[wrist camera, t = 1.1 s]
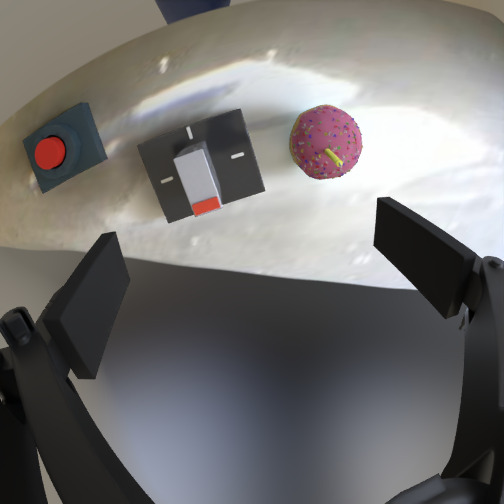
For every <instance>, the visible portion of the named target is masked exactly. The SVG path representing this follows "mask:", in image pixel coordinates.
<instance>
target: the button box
mask: <svg viewBox="0 0 504 504" xmlns="http://www.w3.org/2000/svg"><path fill="white" fill-rule="evenodd" d="M51 137H57V138H59V139H60V140H61V141H62V142H63V143H64V146H65V156H64V159H63V161H62V162H61V163H60V164H59V165H57V166H55V167H53V168H51V169H47V170H46V169H42V168H41V167H39V166H38V164H37V162H36V160H35V150H36V147H37V145H38V144H39V142H41V141H42V140H44V139H47V138H51ZM23 143H24V146H25V149H26V152H27V155H28V158H29V160H30V163H31V166H32V168H33V171H34V174H35V176H36V179H37V181H38V184H39V186H40V188H41V191H42V193H43V194H44V193H45V192H47V191H49V190H50V189H52V188H54V187H56V186H57V185H59V184H61V183H63V182H64V181H66V180H68V179H70V178H72V177H73V176H75V175H77V174H79V173H81V172H83V171H85V170H87V169H89V168H90V167H92V166H94V165H96V164H98V163H100V162H102V161H104V160H106V159H108V158H107V155H106V153H105V150H104V148H103V145H102V142H101V139H100V137H99V134H98V131H97V128H96V125H95V123H94V120H93V117H92V114H91V111H90V108H89V105H88V103H80V104H78V105H76V106H74V107H73V108H71V109H69V110H68V111H66V112H64V113H63V114H61V115H60V116H58V117H56V118H55V119H53V120H52V121H50V122H49V123H47V124H46V125H44V126H43V127H41V128H40V129H38V130H37V131H36V132H34V133H33V134H31V135H30V136H29V137H27V138H26V139H24V140H23Z"/></svg>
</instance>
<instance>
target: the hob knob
mask: <svg viewBox="0 0 504 504" xmlns="http://www.w3.org/2000/svg"><path fill="white" fill-rule="evenodd" d="M174 163H175V166H176V169H177V171H178V174H179V177H180V179H181V182H182V185H183V187H184V190H185V192H186V195H187V198H188V200H189V203H190V205H191V208H192V211H193V213H194V216H195V217H197V216H200V215H203V214H206V213H209V212H212V211H215V210H218V209H221V208H223V206H222V197H221V187H220V183H219V180H218V177H217V174H216V171H215V169H214V166H213V163H212V160H211V157H210V154H209V151H208V148H207V145H206V142H205V141H202V142H199V143H197V144H194V145H191V146H188V147H185V148H183V149H182V150H181V151H180V153H179V154H178V155H177V156H176V157H175V158H174Z"/></svg>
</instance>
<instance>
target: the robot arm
mask: <svg viewBox="0 0 504 504" xmlns="http://www.w3.org/2000/svg"><path fill="white" fill-rule="evenodd" d="M373 246H374V247H375V248H376V249H377V250H379V251H380V252H381V253H382V254H383V255H384V256H385V257H386V258H387V259H388V260H389V261H390V262H391V263H392V264H393V265H394V266H395V267H396V268H397V269H398V270H399V271H400V272H401V273H402V274H403V275H404V276H405V277H406V278H407V279H408V280H409V281H410V282H411V283H412V284H413V285H414V286H415V287H416V288H417V289H418V290H419V291H420V292H421V294H423V296H424V297H425V298H426V299H427V300H428V301H429V302H430V303H431V304H432V305H433V306H434V307H435V308H436V310H438V312H439V313H440V314H441V315H442V316H443V317H444V318H445V319H447V318H450V317H452V316H455V315H458V313H459V310H460V307H461V305H462V302H463V303H464V304H465V305H467V309H466V312H465V314H464V317H463V319H462V322H461V325H460V327H459V329H460V330H461V328H462V326H464V325H465V357H464V375H463V386H462V396H461V405H460V412H459V419H458V425H457V431H456V436H455V441H454V446H453V451H452V454H451V458H450V460H449V462H448V463H447V465H446V467H445V468H444V470H443V472H442V474H441V476H440V475H439V473H438V474H436V475H434V476H433V477H431V478H429V479H427V480H425V481H423V482H421V483H419V484H417V485H415V486H413V487H411V488H409V489H407V490H404V491H403V492H400V493H399V494H398V495H396V496H395V497H393V498H392V499H391V500H389V501H388V502H386V503H385V504H504V261H502V260H501V259H499V258H497V257H492V256H486V257H484V258H483V259H482V258H481V257H479V256H478V255H477V254H476V253H475V252H473V251H472V250H471V249H469V248H468V247H466V246H465V245H464V244H462V243H461V242H459V241H458V240H456V239H455V238H454V237H452V236H451V235H449V234H448V233H446V232H445V231H443V230H442V229H440V228H439V227H437V226H436V225H434V224H433V223H431V222H430V221H428V220H427V219H425V218H423V217H422V216H420V215H419V214H417V213H415V212H414V211H412V210H411V209H409V208H407V207H406V206H404V205H402V204H401V203H399V202H397V201H396V200H394V199H392V198H390V197H380V198H377V210H376V223H375V235H374V245H373ZM129 282H130V277H129V275H128V271H127V268H126V265H125V262H124V259H123V255H122V252H121V249H120V245H119V242H118V238H117V235H116V231H115V232H109V233H104V234H101V236H100V237H99V238H98V240H97V241H96V242H95V243H94V245H93V246H92V247H91V249H90V250H89V251H88V253H87V254H86V255H85V257H84V258H83V259H82V261H81V262H80V264H79V265H78V266H77V268H76V269H75V271H74V272H73V273H72V275H71V276H70V278H69V279H68V280H67V282H66V283H65V285H64V286H62V287H61V288H60V289H59V290H58V291H57V292H56V293H55V294H54V295H53V296H52V298H51V300H50V301H49V302H50V303H48V304H47V306H46V307H45V308H46V309H44V310H43V312H42V313H41V315H40V317H39V318H38V320H37V321H36V323H34V321H33V320H32V318H31V316H30V314H29V313H28V310H27V309H26V308H25V307H16V308H14V309H12V310H10V311H9V312H7V313H6V314H5V315H4V316H3V317H2V318H1V319H0V332H1V334H2V336H3V337H4V339H5V340H6V342H7V344H8V345H9V347H6V348H2V349H0V397H1V398H2V401H1V399H0V504H48V501H47V498H46V494H45V490H44V485H43V481H42V476H41V471H40V466H39V460H38V454H37V449H38V452H39V454H40V457H41V459H42V461H43V464H44V466H45V468H46V471H47V473H48V475H49V477H50V479H51V481H52V483H53V485H54V487H55V489H56V491H57V493H58V495H59V497H60V499H61V501H62V503H63V504H155V503H154V502H153V501H152V500H151V498H150V497H149V496H148V495H147V494H146V493H145V491H143V489H142V488H141V487H140V486H139V484H138V483H137V482H136V481H135V479H134V478H133V477H132V476H131V474H130V473H129V472H128V471H127V469H126V468H125V467H124V465H123V464H122V463H121V461H120V460H119V458H118V457H117V456H116V454H115V453H114V452H113V450H112V449H111V447H110V446H109V444H108V443H107V441H106V440H105V438H104V437H103V435H102V434H101V432H100V431H99V429H98V428H97V426H96V424H95V423H94V421H93V419H92V418H91V416H90V415H89V413H88V411H87V409H86V407H85V406H84V404H83V402H82V400H81V398H80V397H79V395H78V393H77V391H76V389H75V387H74V385H73V383H72V382H71V380H70V379H69V377H68V373H69V371H70V368H71V369H72V371H73V372H74V374H75V375H76V377H77V378H78V379H95V378H96V375H97V371H98V368H99V365H100V362H101V359H102V356H103V353H104V350H105V347H106V344H107V341H108V338H109V335H110V332H111V329H112V327H113V323H114V321H115V318H116V316H117V313H118V310H119V308H120V305H121V302H122V300H123V297H124V295H125V292H126V290H127V287H128V285H129ZM489 484H490V485H489Z"/></svg>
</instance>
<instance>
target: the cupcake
mask: <svg viewBox="0 0 504 504" xmlns="http://www.w3.org/2000/svg"><path fill="white" fill-rule="evenodd" d="M361 135H362V134H361V133H360V130H359V127H358V126H357V123H356V122H355V121H354V118H352V117H351V116H349V115H348V114H347V113H346V112H344V111H342V110H340V109H338V108H336V107H334V106H331V105H320V106H317V107H315V108H312V109H310V110H307V111H305V112H303V113H301V114H300V115H299V116H298V118H297V120H296V122H295V124H294V126H293V129H292V132H291V135H290V142H289V145H290V151H291V154H292V156H293V159H294V161H295V163H296V164H297V165H298V166H299V167H300V168H301V169H302V170H303V171H304V172H305V173H306V174H307V175H308V176H309V177H312V178H315V179H319V180H320V179H328V178H335V177H339V176H340V177H341V176H342V175H343V174H346V172H349V170H351V169H352V168H353V166H354V165H356V164H355V163H357V162H358V158H359V156H360V154H361V151H362V147H363V146H362V138H361Z"/></svg>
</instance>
